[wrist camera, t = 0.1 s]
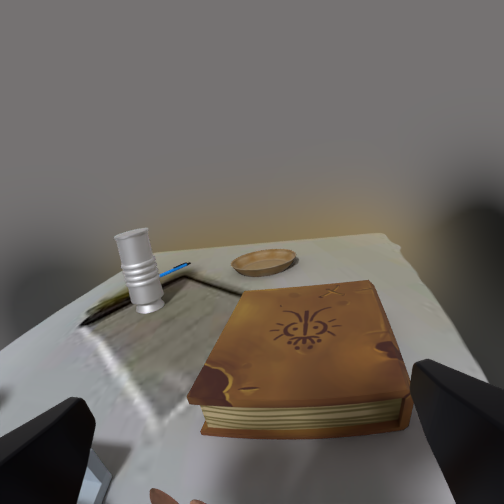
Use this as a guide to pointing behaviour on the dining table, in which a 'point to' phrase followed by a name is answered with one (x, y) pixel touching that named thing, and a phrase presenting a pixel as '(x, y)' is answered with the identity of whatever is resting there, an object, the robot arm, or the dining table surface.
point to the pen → (175, 269)
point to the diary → (305, 367)
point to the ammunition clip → (166, 498)
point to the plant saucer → (264, 262)
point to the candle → (140, 270)
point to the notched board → (94, 481)
